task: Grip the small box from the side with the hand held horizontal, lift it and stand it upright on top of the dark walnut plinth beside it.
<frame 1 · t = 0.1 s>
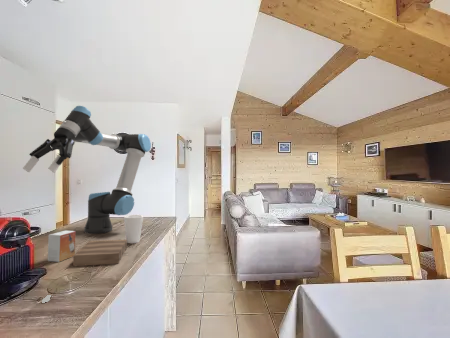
hand: (38, 170, 99), 36 cm above the kitchen counter, tool tilted 35°, fingers open, 13 cm apart
walnut plinth: (102, 256, 104), on the kitchen counter
small box: (61, 258, 100), on the kitchen counter
butter knife: (58, 284, 79), on the kitchen counter
foam cup: (133, 241, 127), on the kitchen counter
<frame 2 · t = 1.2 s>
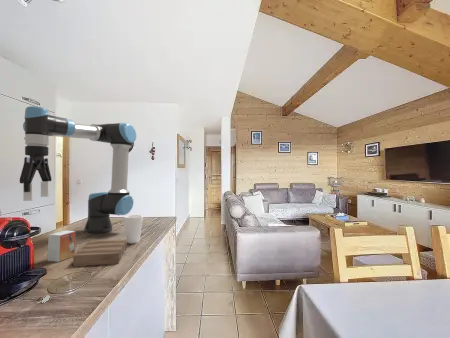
hand: (37, 198, 99), 24 cm above the kitchen counter, tool pointing down, fingers open, 13 cm apart
nothing on the kitchen counter moved.
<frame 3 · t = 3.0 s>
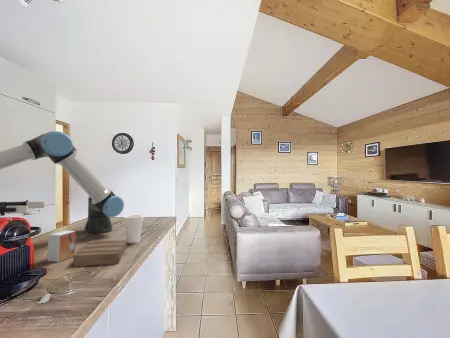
hand: (36, 207, 98), 21 cm above the kitchen counter, tool horizontal, fingers open, 13 cm apart
nothing on the kitchen counter moved.
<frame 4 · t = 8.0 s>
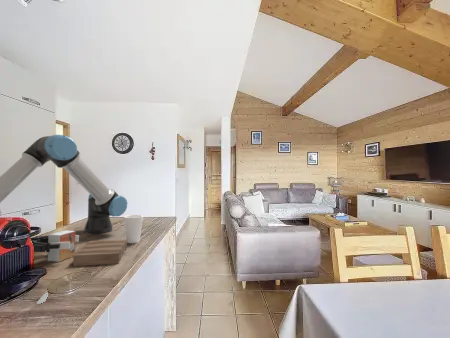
hand: (74, 241, 102), 7 cm above the kitchen counter, tool horizontal, fingers closed on small box, 9 cm apart
small box: (61, 258, 100), on the kitchen counter, touching gripper
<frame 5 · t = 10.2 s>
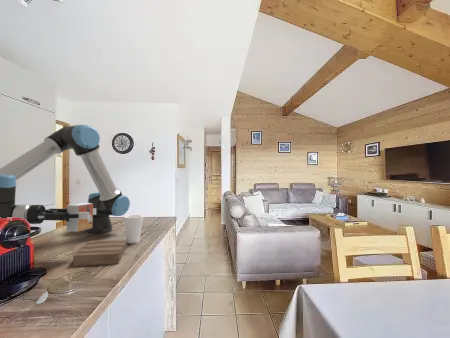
hand: (92, 213, 102), 18 cm above the kitchen counter, tool horizontal, fingers closed on small box, 9 cm apart
small box: (79, 230, 101), point 12 cm above the kitchen counter, touching gripper
when the fingers open (12 cm above the kitchen counter, at t = 12.6 s): small box drops 1 cm, resting on walnut plinth.
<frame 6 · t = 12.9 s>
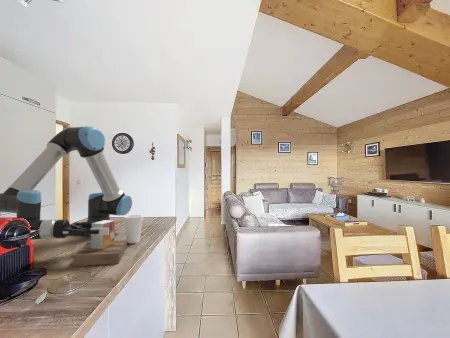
hand: (112, 227, 105), 12 cm above the kitchen counter, tool horizontal, fingers open, 13 cm apart
small box: (103, 246, 104), point 4 cm above the kitchen counter, touching walnut plinth
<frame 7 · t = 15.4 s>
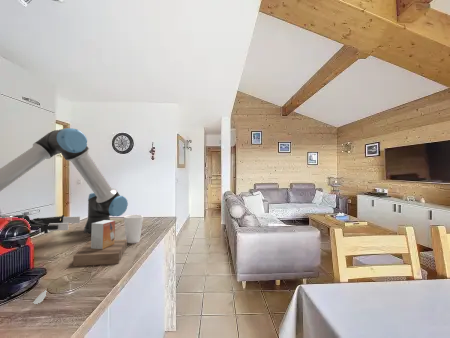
hand: (74, 222, 102), 14 cm above the kitchen counter, tool horizontal, fingers open, 13 cm apart
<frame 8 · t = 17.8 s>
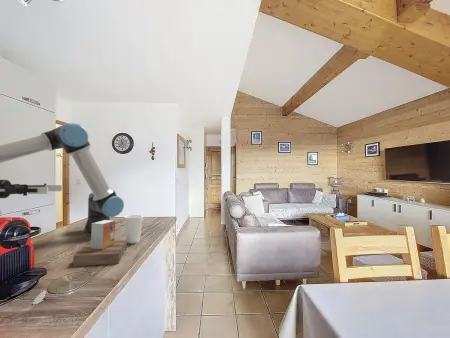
hand: (55, 189, 104), 28 cm above the kitchen counter, tool horizontal, fingers open, 13 cm apart
at the end: small box inside the target area on the walnut plinth (0.2 cm from its centre), point 3.8 cm above the walnut plinth's base; small box tilted 0°; the gripper is holding nothing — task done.
